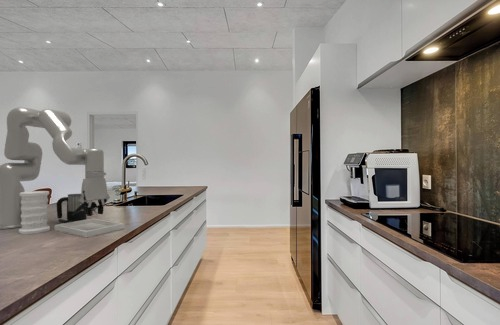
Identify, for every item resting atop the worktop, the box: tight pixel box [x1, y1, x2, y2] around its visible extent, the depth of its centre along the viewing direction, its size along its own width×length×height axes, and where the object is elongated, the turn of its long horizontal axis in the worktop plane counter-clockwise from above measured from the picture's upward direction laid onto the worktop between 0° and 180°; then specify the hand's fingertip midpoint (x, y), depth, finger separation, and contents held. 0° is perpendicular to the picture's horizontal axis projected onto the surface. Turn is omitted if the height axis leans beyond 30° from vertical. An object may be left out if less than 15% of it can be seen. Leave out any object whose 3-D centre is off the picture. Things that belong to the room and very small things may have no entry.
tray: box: [54, 218, 126, 239], centre depth 131 cm, size 26×18×2 cm
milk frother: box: [56, 193, 88, 224], centre depth 146 cm, size 14×16×15 cm
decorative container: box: [18, 190, 51, 235], centre depth 129 cm, size 12×12×18 cm
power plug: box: [72, 201, 98, 217], centre depth 131 cm, size 6×8×12 cm
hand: (94, 214), depth 129 cm, fingers closed on power plug, 4 cm apart
